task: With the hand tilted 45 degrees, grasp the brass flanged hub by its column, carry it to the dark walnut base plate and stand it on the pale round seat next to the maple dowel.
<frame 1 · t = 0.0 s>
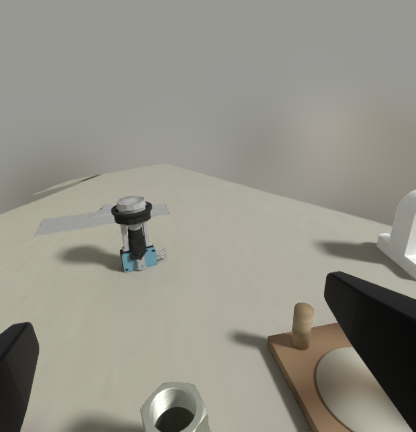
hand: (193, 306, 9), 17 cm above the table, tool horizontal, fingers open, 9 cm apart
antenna: (107, 229, 56), on the table
black white upright piece: (144, 265, 42), on the table
base plate: (368, 399, 23), on the table
white phone stand: (412, 262, 41), on the table
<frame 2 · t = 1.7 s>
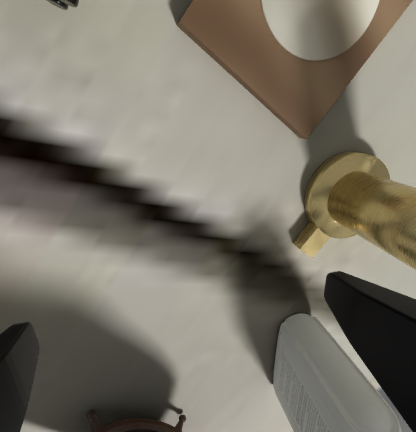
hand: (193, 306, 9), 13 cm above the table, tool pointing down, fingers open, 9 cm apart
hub: (342, 193, 24), on the table
alarm clock: (132, 421, 28), on the table
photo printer: (290, 350, 30), on the table
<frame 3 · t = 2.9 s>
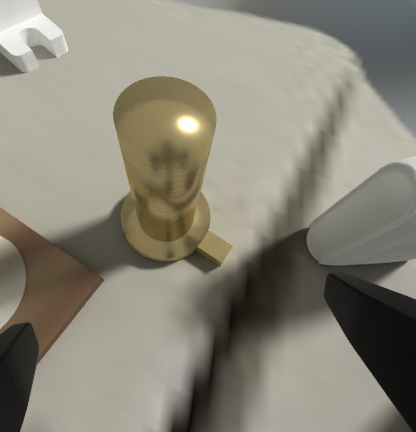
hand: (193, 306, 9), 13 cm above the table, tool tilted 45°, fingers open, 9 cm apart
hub: (166, 220, 24), on the table
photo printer: (358, 243, 26), on the table
white phone stand: (18, 36, 30), on the table
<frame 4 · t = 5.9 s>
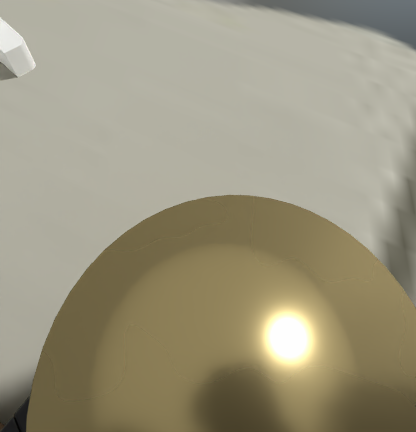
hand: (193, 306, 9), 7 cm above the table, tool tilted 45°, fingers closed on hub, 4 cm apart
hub: (187, 349, 14), on the table, touching gripper
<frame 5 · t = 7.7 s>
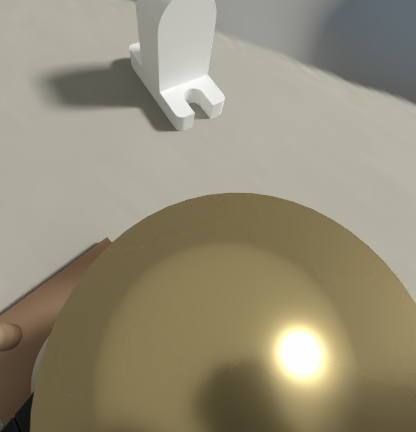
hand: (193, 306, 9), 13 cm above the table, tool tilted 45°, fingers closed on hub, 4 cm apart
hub: (187, 348, 14), point 7 cm above the table, touching gripper
base plate: (104, 369, 19), on the table
white phone stand: (175, 89, 30), on the table
when the fingers open (9 cm above the table, at t = 9.6 s): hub stays where it is, resting on base plate.
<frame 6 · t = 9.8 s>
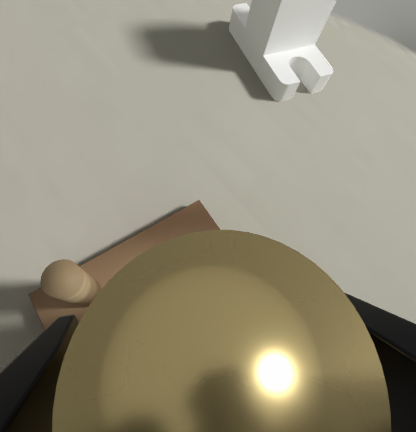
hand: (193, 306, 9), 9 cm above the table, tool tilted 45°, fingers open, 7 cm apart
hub: (185, 352, 15), point 1 cm above the table, touching base plate
base plate: (184, 348, 16), on the table
white phone stand: (273, 59, 27), on the table
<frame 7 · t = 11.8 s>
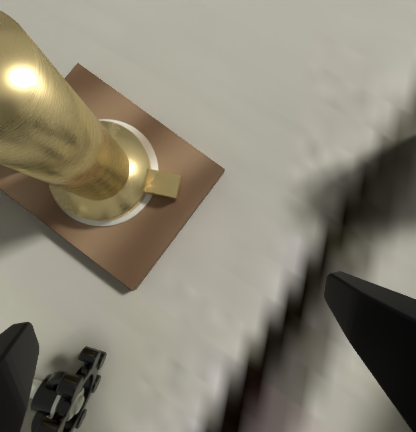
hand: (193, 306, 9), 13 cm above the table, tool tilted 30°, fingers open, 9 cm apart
valve: (24, 352, 21), on the table
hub: (103, 173, 21), point 1 cm above the table, touching base plate
base plate: (108, 175, 22), on the table
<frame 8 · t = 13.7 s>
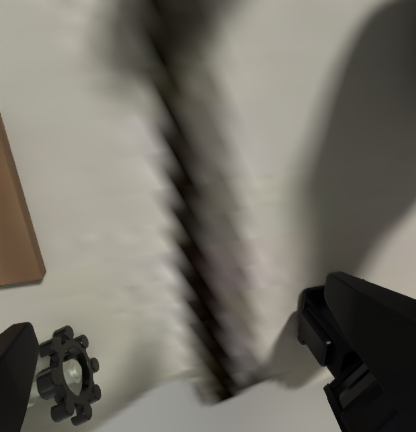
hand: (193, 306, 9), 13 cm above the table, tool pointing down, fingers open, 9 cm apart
valve: (18, 364, 24), on the table
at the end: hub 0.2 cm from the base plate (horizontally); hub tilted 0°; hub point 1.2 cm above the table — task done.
